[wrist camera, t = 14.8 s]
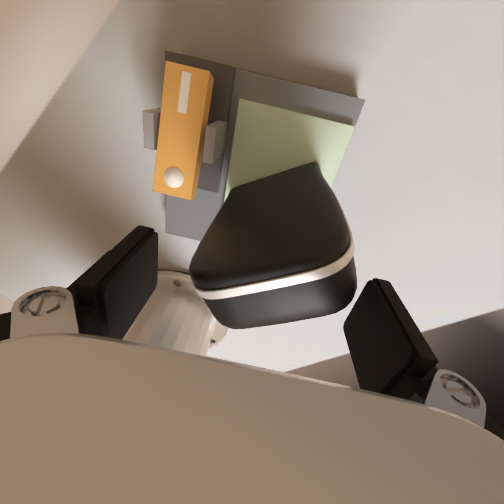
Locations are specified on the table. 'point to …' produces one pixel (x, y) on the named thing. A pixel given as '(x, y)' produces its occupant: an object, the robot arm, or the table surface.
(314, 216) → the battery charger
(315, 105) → the grey holder stand
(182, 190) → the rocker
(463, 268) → the table surface
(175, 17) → the table surface
